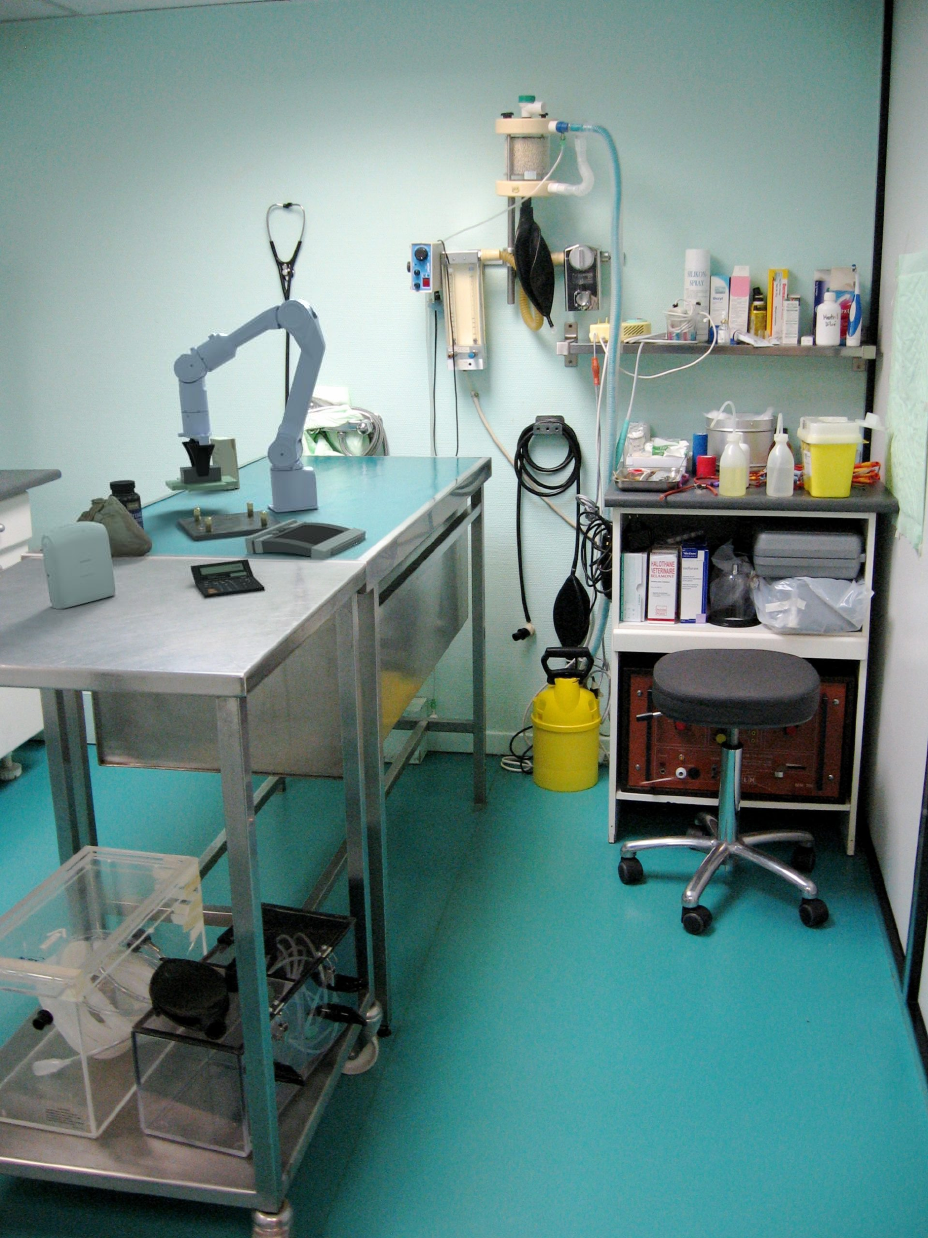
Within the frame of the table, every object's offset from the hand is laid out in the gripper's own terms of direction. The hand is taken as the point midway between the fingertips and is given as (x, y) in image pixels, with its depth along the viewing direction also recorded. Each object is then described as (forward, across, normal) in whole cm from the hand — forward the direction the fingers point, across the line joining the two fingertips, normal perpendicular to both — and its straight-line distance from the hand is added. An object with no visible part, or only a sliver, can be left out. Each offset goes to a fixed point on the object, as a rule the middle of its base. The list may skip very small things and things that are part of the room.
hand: (201, 474), depth 230 cm
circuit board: (+2, 0, 0) cm, 2 cm away
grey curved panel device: (+9, +45, +10) cm, 47 cm away
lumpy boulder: (+8, +33, -22) cm, 40 cm away
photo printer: (+8, +64, -32) cm, 72 cm away
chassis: (+8, +21, +1) cm, 22 cm away
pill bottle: (+8, +20, -19) cm, 29 cm away
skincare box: (+8, -26, +11) cm, 29 cm away
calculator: (+8, +66, -10) cm, 67 cm away
